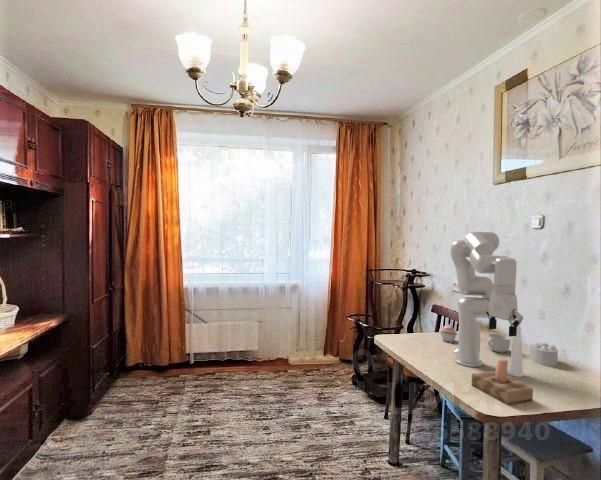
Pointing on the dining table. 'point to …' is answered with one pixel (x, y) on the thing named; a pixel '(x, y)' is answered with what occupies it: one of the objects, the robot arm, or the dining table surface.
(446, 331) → the cupcake
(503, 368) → the peg
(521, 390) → the socket board
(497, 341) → the teacup
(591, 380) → the dining table surface
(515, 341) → the cosmetic bottle
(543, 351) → the lumpy-topped squat cylinder
